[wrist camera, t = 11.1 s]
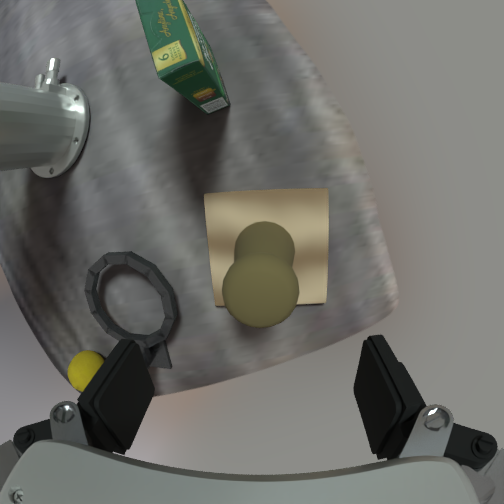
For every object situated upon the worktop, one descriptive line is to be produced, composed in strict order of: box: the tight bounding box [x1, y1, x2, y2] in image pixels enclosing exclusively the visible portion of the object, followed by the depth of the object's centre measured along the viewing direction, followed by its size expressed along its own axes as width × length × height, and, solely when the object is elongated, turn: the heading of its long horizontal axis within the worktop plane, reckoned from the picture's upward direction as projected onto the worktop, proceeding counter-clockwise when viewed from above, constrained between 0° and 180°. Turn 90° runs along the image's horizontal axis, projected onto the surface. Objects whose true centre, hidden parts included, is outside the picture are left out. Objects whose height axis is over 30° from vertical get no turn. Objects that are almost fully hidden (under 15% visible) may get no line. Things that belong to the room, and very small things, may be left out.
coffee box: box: [135, 0, 230, 114], centre depth 17 cm, size 8×3×13 cm, turn 18°
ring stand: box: [85, 251, 177, 369], centre depth 26 cm, size 17×12×12 cm
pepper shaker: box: [222, 221, 300, 328], centre depth 22 cm, size 6×6×11 cm
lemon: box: [68, 350, 104, 392], centre depth 31 cm, size 6×6×8 cm
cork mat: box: [204, 188, 329, 306], centre depth 28 cm, size 12×12×1 cm
